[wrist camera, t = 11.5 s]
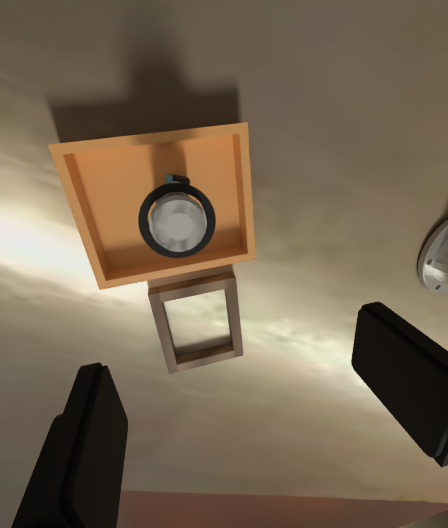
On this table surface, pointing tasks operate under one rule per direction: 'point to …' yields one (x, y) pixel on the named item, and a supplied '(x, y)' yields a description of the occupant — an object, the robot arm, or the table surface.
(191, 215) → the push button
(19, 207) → the table surface
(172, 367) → the component holder
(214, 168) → the parts tray
